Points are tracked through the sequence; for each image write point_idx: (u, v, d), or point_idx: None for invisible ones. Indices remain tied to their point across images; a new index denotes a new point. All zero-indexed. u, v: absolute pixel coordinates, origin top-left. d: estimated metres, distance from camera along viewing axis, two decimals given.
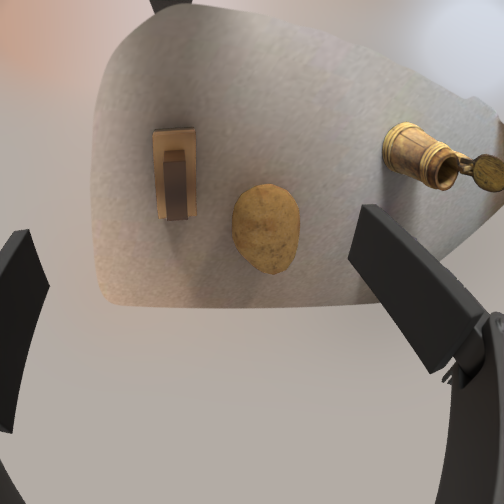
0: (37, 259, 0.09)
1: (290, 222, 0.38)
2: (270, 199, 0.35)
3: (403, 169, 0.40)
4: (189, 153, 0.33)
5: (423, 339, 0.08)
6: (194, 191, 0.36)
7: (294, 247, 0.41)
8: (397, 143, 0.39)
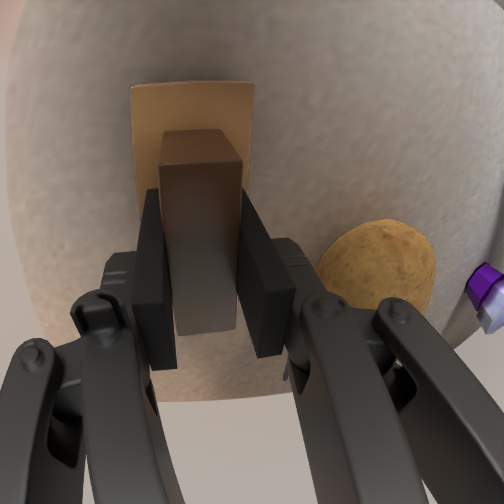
0: None
1: (428, 299, 0.17)
2: (416, 262, 0.14)
3: None
4: (234, 140, 0.12)
5: (250, 318, 0.09)
6: None
7: None
8: None
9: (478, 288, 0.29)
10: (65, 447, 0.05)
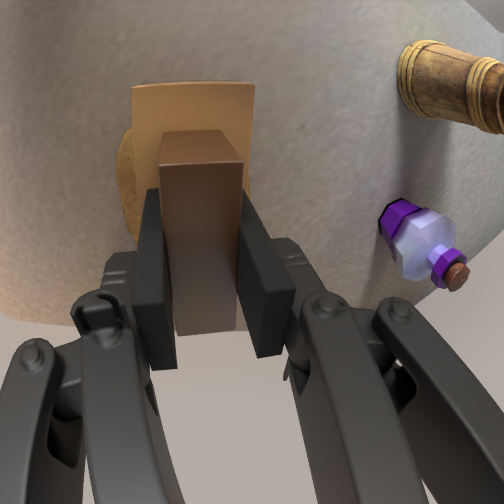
0: None
1: None
2: None
3: (435, 103, 0.20)
4: (234, 141, 0.12)
5: (250, 318, 0.09)
6: None
7: None
8: (421, 61, 0.19)
9: (389, 224, 0.30)
10: (65, 447, 0.05)
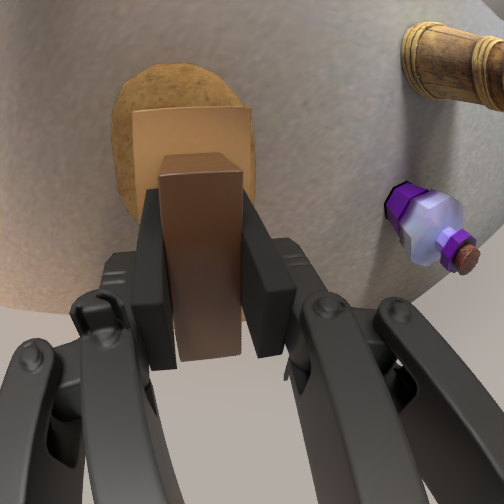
0: None
1: None
2: (171, 70, 0.14)
3: (440, 81, 0.19)
4: (234, 164, 0.12)
5: (250, 318, 0.09)
6: None
7: None
8: (425, 40, 0.18)
9: (396, 206, 0.29)
10: (65, 447, 0.05)
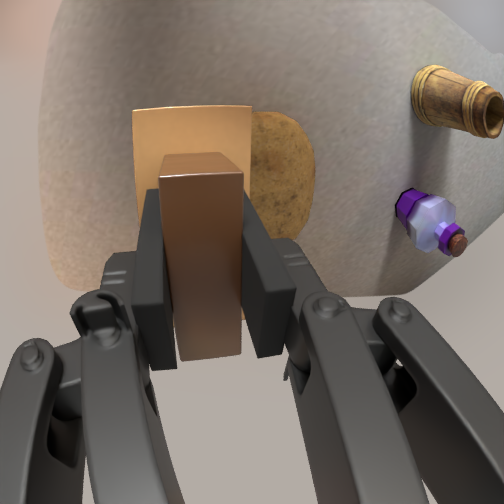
0: None
1: (302, 162, 0.25)
2: (274, 124, 0.23)
3: (439, 115, 0.28)
4: (234, 163, 0.12)
5: (250, 318, 0.09)
6: None
7: (308, 203, 0.28)
8: (429, 83, 0.27)
9: (404, 207, 0.38)
10: (65, 447, 0.05)
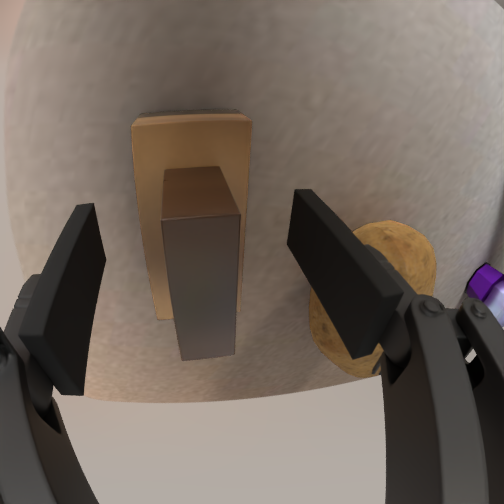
0: (98, 232, 0.11)
1: None
2: (417, 265, 0.14)
3: None
4: (232, 176, 0.13)
5: (344, 322, 0.09)
6: (239, 266, 0.16)
7: None
8: None
9: (479, 288, 0.29)
10: None
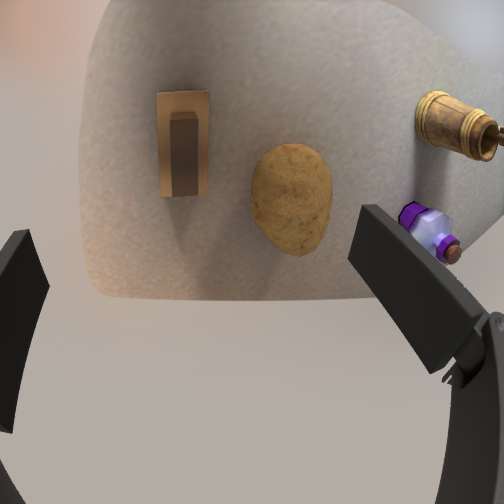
0: (37, 259, 0.09)
1: (323, 188, 0.30)
2: (301, 158, 0.28)
3: (440, 139, 0.33)
4: (201, 116, 0.26)
5: (423, 339, 0.08)
6: (205, 163, 0.29)
7: (326, 222, 0.33)
8: (432, 110, 0.32)
9: (406, 219, 0.42)
10: None
